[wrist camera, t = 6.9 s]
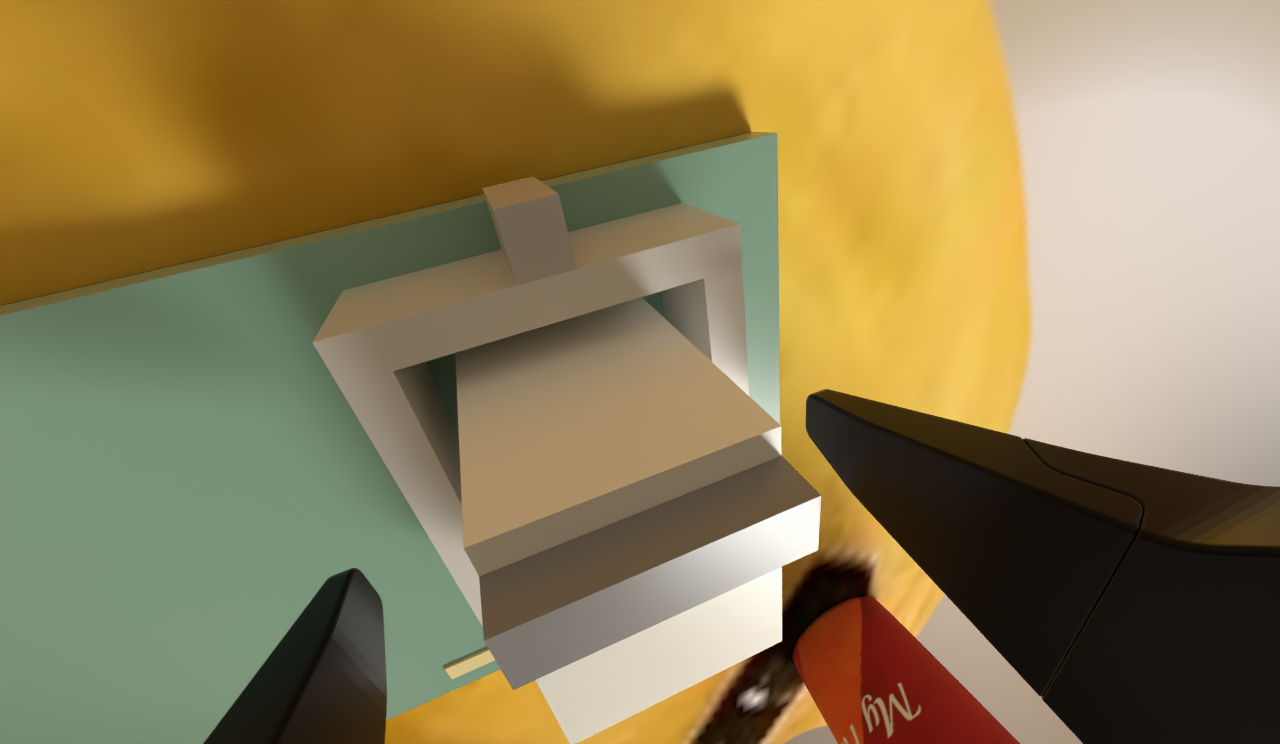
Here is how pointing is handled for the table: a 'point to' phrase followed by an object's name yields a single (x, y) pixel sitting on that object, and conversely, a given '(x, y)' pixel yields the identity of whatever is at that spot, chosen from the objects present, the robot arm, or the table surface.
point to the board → (318, 430)
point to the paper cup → (886, 682)
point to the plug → (622, 512)
